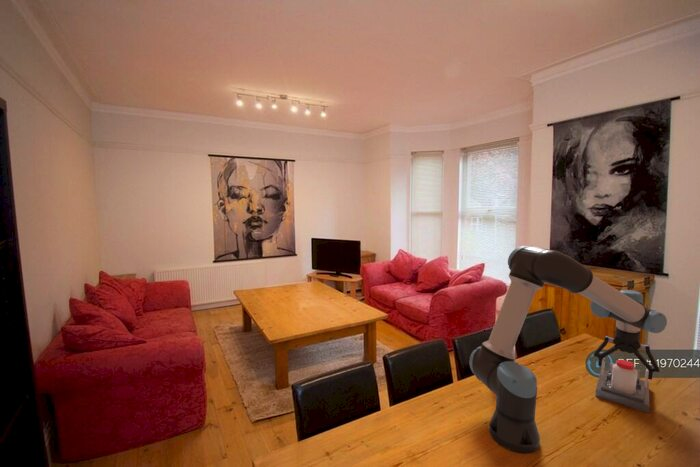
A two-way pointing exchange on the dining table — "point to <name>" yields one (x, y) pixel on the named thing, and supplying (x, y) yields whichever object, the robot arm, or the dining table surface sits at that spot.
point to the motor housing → (630, 400)
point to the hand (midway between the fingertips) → (623, 379)
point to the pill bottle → (624, 377)
